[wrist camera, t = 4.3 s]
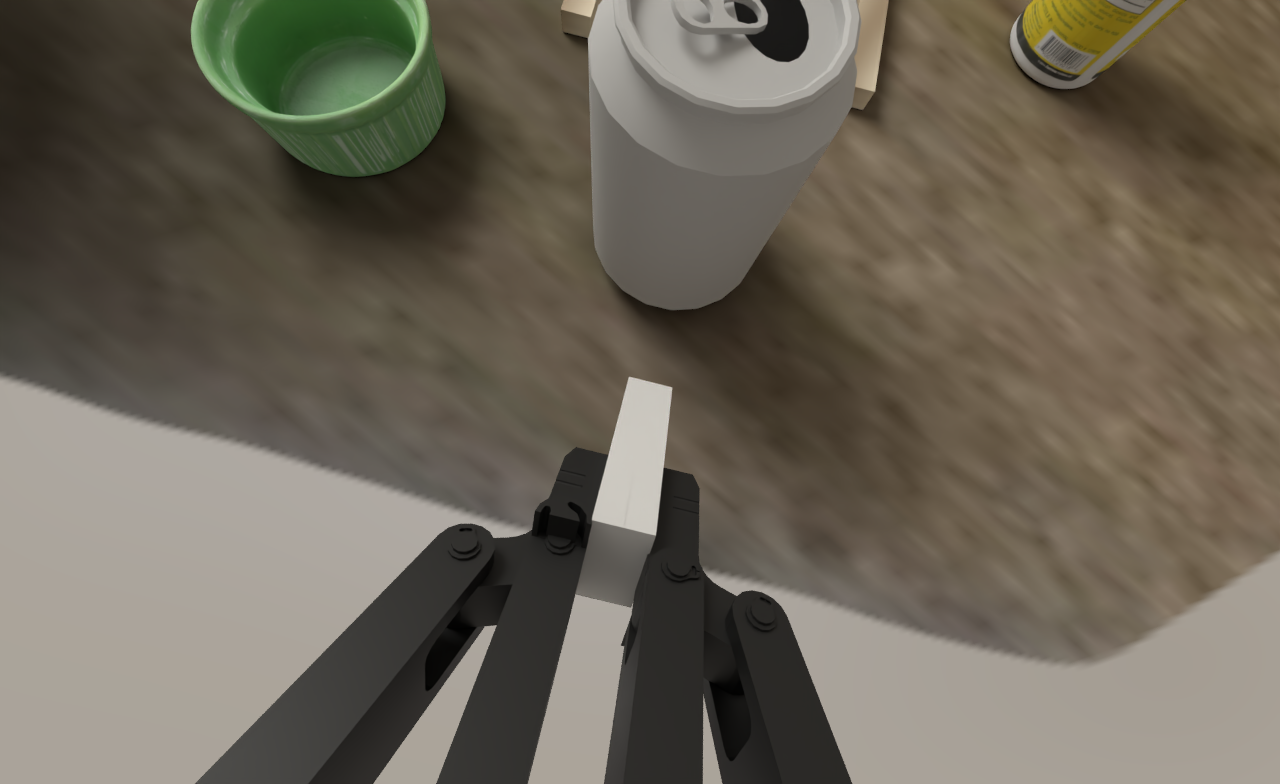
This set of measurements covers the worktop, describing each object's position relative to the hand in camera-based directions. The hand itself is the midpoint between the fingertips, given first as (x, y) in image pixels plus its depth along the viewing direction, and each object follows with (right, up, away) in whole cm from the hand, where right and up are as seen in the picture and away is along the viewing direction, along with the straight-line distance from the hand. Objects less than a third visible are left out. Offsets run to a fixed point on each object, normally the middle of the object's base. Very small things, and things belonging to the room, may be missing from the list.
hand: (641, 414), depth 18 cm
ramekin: (-13, +14, +7) cm, 21 cm away
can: (+1, +8, +7) cm, 10 cm away
